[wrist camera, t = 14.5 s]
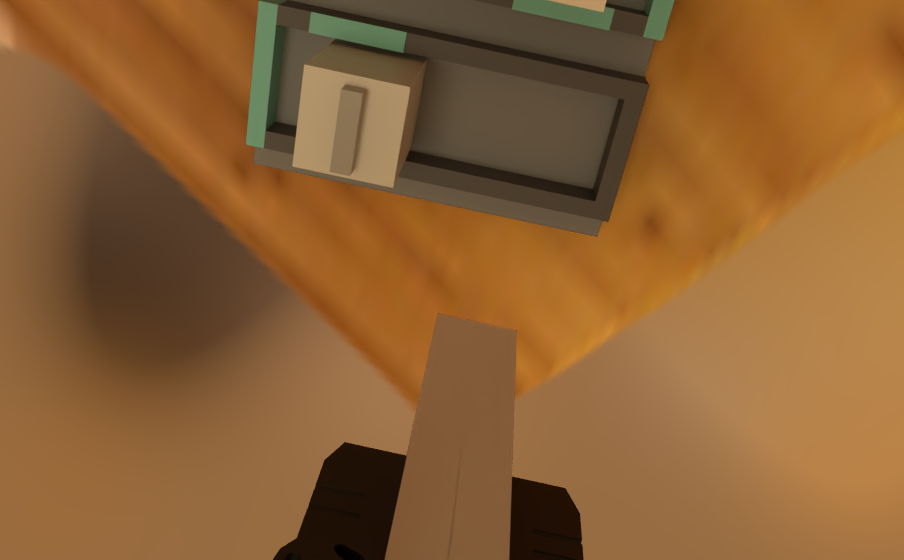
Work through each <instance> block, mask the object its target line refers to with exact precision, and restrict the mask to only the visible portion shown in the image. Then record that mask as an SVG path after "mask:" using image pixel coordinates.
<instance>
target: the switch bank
mask: <svg viewBox="0 0 904 560" xmlns="http://www.w3.org/2000/svg"><path fill="white" fill-rule="evenodd" d="M673 4H674V0H607V1H606V5H605V8H604V12H600V11H595V10H590V9H586V8H581V7H577V6H572V5H567V4H563V3H558V2H553V1H549V0H259V5H258V16H257V27H256V38H255V49H254V60H253V71H252V82H251V93H250V104H249V115H248V127H247V138H246V145H251V146H255V154H254V164H259V165H264V166H268V167H273V168H278V169H282V170H287V171H292V172H296V173H301V174H306V175H310V176H315V177H320V178H324V179H329V180H334V181H338V182H343V183H348V184H353V185H357V186H362V187H367V188H371V189H376V190H381V191H385V192H390V193H395V194H399V195H404V196H409V197H413V198H418V199H423V200H427V201H432V202H437V203H441V204H446V205H451V206H455V207H460V208H465V209H469V210H474V211H479V212H483V213H488V214H493V215H498V216H502V217H507V218H512V219H516V220H521V221H526V222H530V223H535V224H540V225H544V226H549V227H554V228H558V229H563V230H568V231H572V232H577V233H582V234H586V235H591V236H596V237H597V236H598V232H599V229H600V225H601V222H602V221H606V222H608V221H609V218H610V214H611V211H612V208H613V204H614V201H615V198H616V194H617V191H618V188H619V184H620V181H621V178H622V174H623V171H624V168H625V164H626V161H627V158H628V154H629V151H630V148H631V144H632V141H633V138H634V134H635V131H636V127H637V124H638V121H639V117H640V114H641V111H642V107H643V104H644V101H645V97H646V94H647V91H648V87H649V84H648V82H647V80H646V79H645V77H644V76H645V73H646V70H647V66H648V63H649V60H650V56H651V53H652V49H653V46H654V43H655V40H660V41H663V37H664V34H665V31H666V27H667V24H668V20H669V17H670V14H671V10H672V7H673ZM335 39H341V40H345V41H350V42H355V43H359V44H364V45H368V46H373V47H378V48H382V49H387V50H392V51H396V52H401V53H404V52H406V53H410V54H415V55H420V56H424V57H428V59H427V65H426V70H425V76H424V81H423V87H422V93H421V98H420V104H419V109H418V115H417V120H416V126H415V131H414V137H413V142H412V146H411V148H410V151H409V153H408V155H407V157H406V160H405V162H404V164H403V166H402V169H401V171H400V173H399V175H398V178H397V180H396V182H395V185H394V187H393V188H391V187H386V186H381V185H377V184H372V183H367V182H363V181H358V180H353V179H349V178H344V177H339V176H335V175H330V174H325V173H321V172H316V171H311V170H307V169H302V168H297V167H293V166H292V165H293V156H294V148H295V139H296V131H297V122H298V114H299V105H300V97H301V88H302V80H303V71H304V64H305V63H307V62H308V61H309V60H310V59H312V58H313V57H314V56H315V55H316V54H318V53H319V52H320V51H321V50H323V49H324V48H325V47H326V46H328V45H329V44H330V43H331V42H332V41H334V40H335Z"/></svg>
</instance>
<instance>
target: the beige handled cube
mask: <svg viewBox="0 0 904 560" xmlns="http://www.w3.org/2000/svg"><path fill="white" fill-rule="evenodd" d="M427 59H428V57H424V56H420V55H415V54H410V53H406V52H404V53H401V52H396V51H392V50H387V49H382V48H378V47H373V46H368V45H364V44H359V43H355V42H350V41H345V40H341V39H335V40H334V41H332V42H331V43H330V44H329V45H328V46H326V47H325V48H324V49H323V50H321V51H320V52H319V53H318V54H316V55H315V56H314V57H313V58H312V59H310V60H309V61H308V62H307V63H305V64H304V71H303V80H302V88H301V97H300V105H299V114H298V122H297V131H296V139H295V148H294V156H293V165H292V166H293V167H297V168H302V169H307V170H311V171H316V172H321V173H325V174H330V175H335V176H339V177H344V178H349V179H353V180H358V181H363V182H367V183H372V184H377V185H381V186H386V187H391V188H393V187H394V185H395V182H396V180H397V178H398V175H399V173H400V171H401V169H402V166H403V164H404V162H405V160H406V157H407V155H408V153H409V151H410V148H411V146H412V142H413V137H414V131H415V126H416V120H417V115H418V109H419V104H420V98H421V93H422V87H423V81H424V76H425V70H426V65H427Z"/></svg>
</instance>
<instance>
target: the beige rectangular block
mask: <svg viewBox="0 0 904 560" xmlns="http://www.w3.org/2000/svg"><path fill="white" fill-rule="evenodd" d="M549 1H553V2H558V3H563V4H567V5H572V6H577V7H581V8H586V9H590V10H595V11H600V12H604V8H605V5H606V1H607V0H549Z"/></svg>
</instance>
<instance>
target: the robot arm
mask: <svg viewBox="0 0 904 560" xmlns="http://www.w3.org/2000/svg"><path fill="white" fill-rule="evenodd" d="M516 338H517V331H516V330H512V329H507V328H503V327H498V326H494V325H489V324H485V323H480V322H476V321H471V320H467V319H462V318H458V317H453V316H448V315H444V314H439V313H438V315H437V319H436V324H435V328H434V333H433V337H432V342H431V346H430V351H429V355H428V360H427V364H426V369H425V373H424V378H423V382H422V387H421V391H420V396H419V400H418V404H417V409H416V413H415V418H414V422H413V427H412V432H411V436H410V441H409V446H408V450H407V455H406V456H405V455H401V454H396V453H392V452H387V451H383V450H378V449H373V448H368V447H364V446H360V445H355V444H351V443H346V442H345V443H343V444H342V445H341V446H340V447H339V448H338V449H337V450H336V451H334V453H332V454H331V455H330V456H329V457H328V458H326V459H325V460H324V463H323V466H322V469H321V471H320V475H319V477H318V480H317V483H316V487H315V489H314V491H313V495H312V497H311V500H310V503H309V506H308V509H307V512H306V514H305V517H304V519H303V522H302V525H301V528H300V531H299V533H298V537H297V538H296V539H295V540H293V541H291V542H290V543H288V544H287V545H285V546H284V547H282V548H281V549H280V550H279V551H278V553H277V554H276V556H275V557H274V559H273V560H583V548H582V544H581V541H582V535H581V521H580V513H579V511H578V509H577V508H576V506H575V504H574V502H573V501H572V499H571V497H570V495H569V494H568V492H567V490H566V489H565V488H561V487H557V486H553V485H548V484H544V483H539V482H534V481H529V480H525V479H520V478H516V477H512V459H513V428H514V398H515V368H516Z"/></svg>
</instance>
